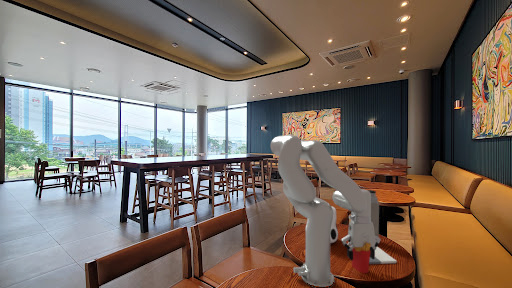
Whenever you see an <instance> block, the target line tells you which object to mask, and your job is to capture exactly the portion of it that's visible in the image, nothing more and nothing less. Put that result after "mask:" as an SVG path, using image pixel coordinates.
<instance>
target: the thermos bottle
mask: <svg viewBox="0 0 512 288" xmlns="http://www.w3.org/2000/svg"><path fill="white" fill-rule="evenodd" d="M367 190H368V191H369V192H370V193H371V222H372V223H373V226H374V231H375V236H377V237H379V235H380V233H379V230H380V229H379V228H380V227H379V226H380V225H379V223H380V220H379V219H380V217H379V215H380V201H379V199H378V197H377V196H376V195H377V191H376V190H372V189H367ZM379 238H380V237H379Z"/></svg>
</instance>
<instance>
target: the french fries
mask: <svg viewBox="0 0 512 288" xmlns="http://www.w3.org/2000/svg"><path fill="white" fill-rule="evenodd" d="M365 243H366V242H365ZM351 245H352V244H351ZM370 246H371V244H370V243H366V245H364V247H354V248H353V249H352V251H353V260H351V266H352V267H353V269H355V270H356V271H358V272H359V273H363V274H367V273H369V270H370V269H369V268H370V264H369V260H370Z"/></svg>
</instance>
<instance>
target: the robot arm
mask: <svg viewBox="0 0 512 288" xmlns="http://www.w3.org/2000/svg"><path fill="white" fill-rule="evenodd" d="M270 150H271V152H272V154H273V155H275V156H277V157H278V159H277V160H278V161H277V171H278V173H279V174H278V175H279V176H280V177H281V179H282V180H283V182H282V192H283V193H284V195H285V197H287V199H288V202H290V204H291V205H292V206H293V208H294V209H295V210H296V211H297V213H298V214H300V215H301V216H303V217H305V218H306V219H309V223H308V226H307V228H306V227H305V259H304V260H305V262H304V263H303V264H302V265H301V266H300V267H297V266H295V267H293V273H295V274H296V273H297V275H298V277H301V278H302V280H303V282H305V284H307V283H308V284H307V285H309V284H310V285H314V286H319V287H326V286H330V285H332V284H333V282H334V283H335V276H334V275H333V273H332V272H331V244H330V234H331V224H332V220H333V209H332V207H333V206H332V207H331V204H330V203H329V202H328V201H326V200H324V199H323V198H319V197H317V190H316V187H315V185H314V183H313V182H312V181H311V179H310V178H309V177H308V175H307V174H306V173H305V171H304V169H303V167H302V166H301V163H300V161H301V160H302V161H307V162H308V163H309V164H310V166H311V168H313V170H314V171H315V173H316V174H317V177H318V178H319V179H320V180H321V181H322V182H323V183H325V184H326V185H328V186H329V187H331V188H333V189H334V190H335V191H333V193H332V201H333V203H334V204H335V205H336V206H338V207H340V208H342V209H345V210H347V211H350V212H351V213H350V215H349V216H348V219H349V220H350V221H349V223H348V231H347V235H345V236H344V237H343V238H341V239H340V241H341V242H342V245H343V246H344V247H345V248H346V256H347V257H348V258H349V260H350V261H352V260H353V251H352V249H353V248H354V247H364V245H366V243H370V244H371V246H370V257H371V258H372V259H375V250H376V247H378V246H379V244H380V242H381V240H382V239H381V238H380V237H377V236H375V231H374V226H373V223H372V222H371V193H370V192H369V191H368V190H369V189H364V188H362V189H361V188H360V186H359V185H358V184H357V183H356V182H355V180H353V179H352V178H351V177H350V176H348V175H347V174H346V173H345V172H344V171H343V170H341V169H340V167H338V164H336V163H337V162H335V160H334V159H333V158H332V156H331V154H330V152H329V151H328V149H327V148H326V146H325V145H324V144H323V143H322V142H321V141H320V140H313V139H312V140H304V139H303V140H302V139H301V138H300V137H298V136H296V135H293V134H285V135H278V136H275V137H274V138H273V139H272V140H271V142H270ZM347 241H348V243H347ZM365 242H366V243H365ZM351 244H352V245H351ZM310 285H309V286H310ZM333 285H334V284H333ZM333 285H332V286H333Z"/></svg>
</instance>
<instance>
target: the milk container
mask: <svg viewBox="0 0 512 288" xmlns="http://www.w3.org/2000/svg"><path fill="white" fill-rule="evenodd" d="M330 206H331V205H330ZM331 207H332V209H333V220H332V224H331V234H330V245H332V244H334V243H335V242H337V240H338V237H339V232H338V231H339V230H338V227H337V210H336V208H335V207H334V206H331ZM306 219H307V218H306ZM306 221H307V222H306V225H305V229H306V228H307V226H308V223H309V219H307V220H306Z"/></svg>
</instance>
